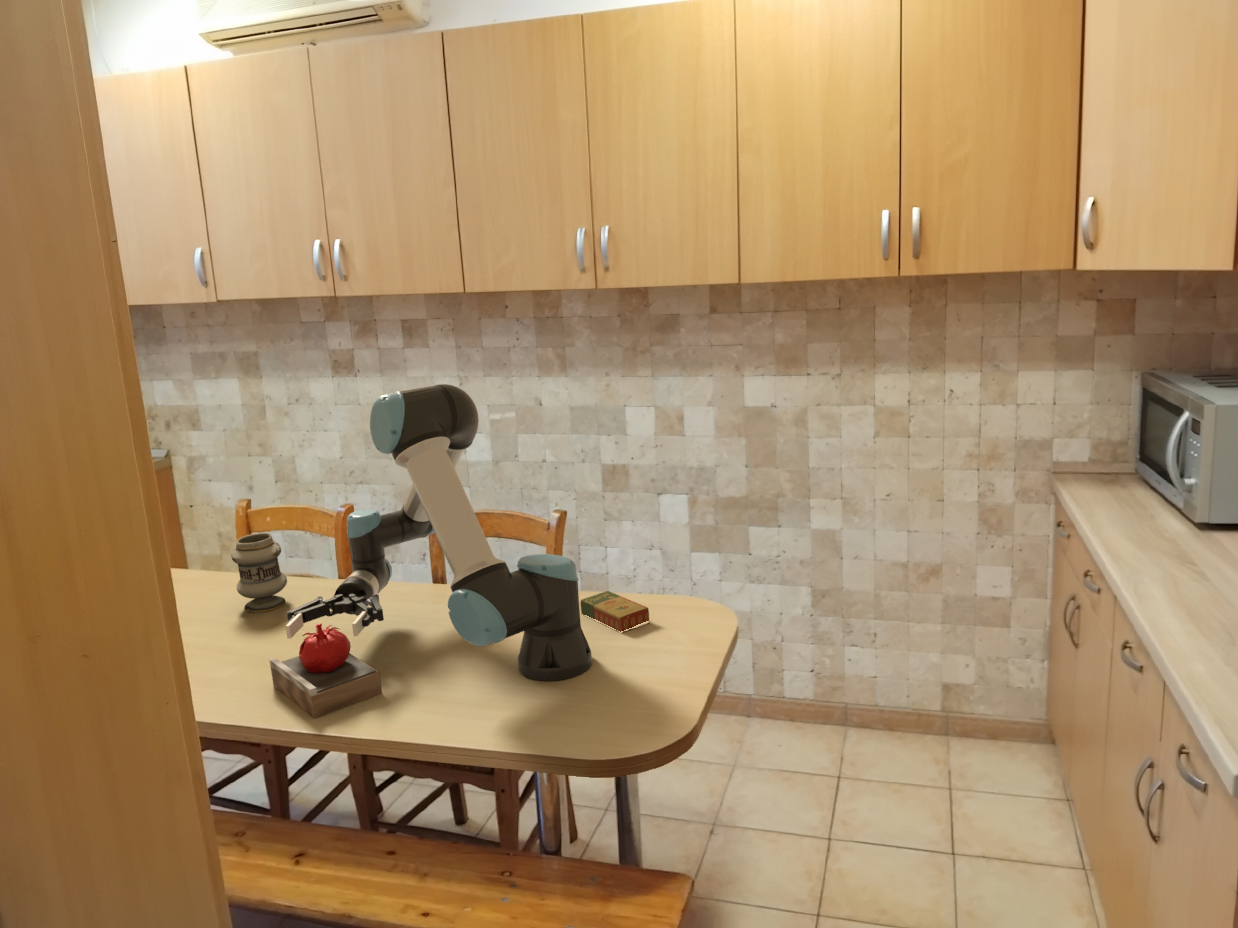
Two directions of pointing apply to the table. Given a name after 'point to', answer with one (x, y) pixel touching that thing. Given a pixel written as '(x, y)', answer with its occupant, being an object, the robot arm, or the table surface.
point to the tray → (325, 684)
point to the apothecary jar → (259, 571)
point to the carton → (614, 610)
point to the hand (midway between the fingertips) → (321, 631)
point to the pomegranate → (324, 650)
